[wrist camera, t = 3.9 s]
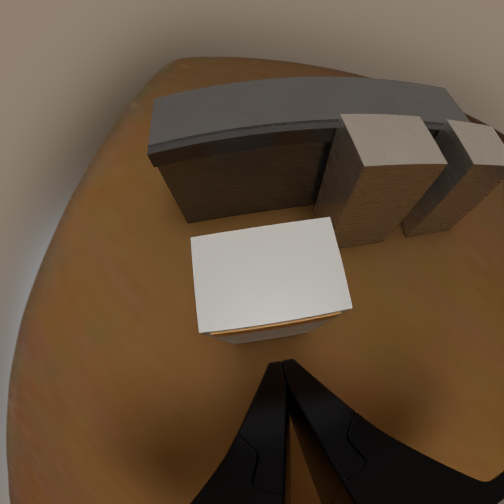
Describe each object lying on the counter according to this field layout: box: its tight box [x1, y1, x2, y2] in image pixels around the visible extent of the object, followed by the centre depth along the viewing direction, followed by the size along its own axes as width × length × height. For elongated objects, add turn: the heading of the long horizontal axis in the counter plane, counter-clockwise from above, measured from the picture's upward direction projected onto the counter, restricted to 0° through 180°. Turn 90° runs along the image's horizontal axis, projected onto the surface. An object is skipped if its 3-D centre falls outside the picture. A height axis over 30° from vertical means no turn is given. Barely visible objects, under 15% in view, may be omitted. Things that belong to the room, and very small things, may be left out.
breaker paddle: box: [191, 217, 352, 344], centre depth 13 cm, size 3×4×9 cm
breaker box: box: [147, 77, 504, 248], centre depth 15 cm, size 8×20×9 cm, turn 98°
